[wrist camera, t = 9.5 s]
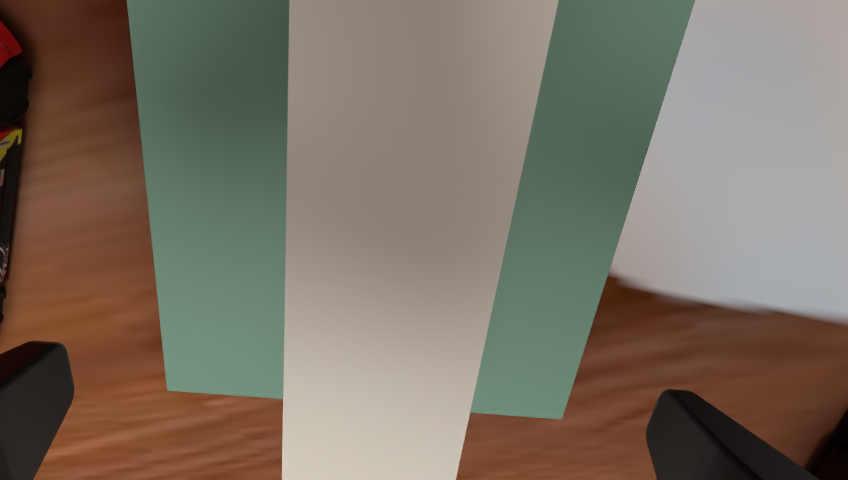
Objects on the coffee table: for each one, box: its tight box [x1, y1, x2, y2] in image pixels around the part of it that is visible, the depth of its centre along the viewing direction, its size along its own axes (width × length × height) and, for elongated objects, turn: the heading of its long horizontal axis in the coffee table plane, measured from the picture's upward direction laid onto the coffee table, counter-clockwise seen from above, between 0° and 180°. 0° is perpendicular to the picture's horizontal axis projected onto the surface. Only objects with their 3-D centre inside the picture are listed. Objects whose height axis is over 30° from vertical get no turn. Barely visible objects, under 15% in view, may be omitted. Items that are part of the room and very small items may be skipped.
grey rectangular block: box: [282, 0, 559, 480], centre depth 12 cm, size 4×13×5 cm, turn 173°
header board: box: [127, 0, 695, 419], centre depth 14 cm, size 14×16×5 cm
